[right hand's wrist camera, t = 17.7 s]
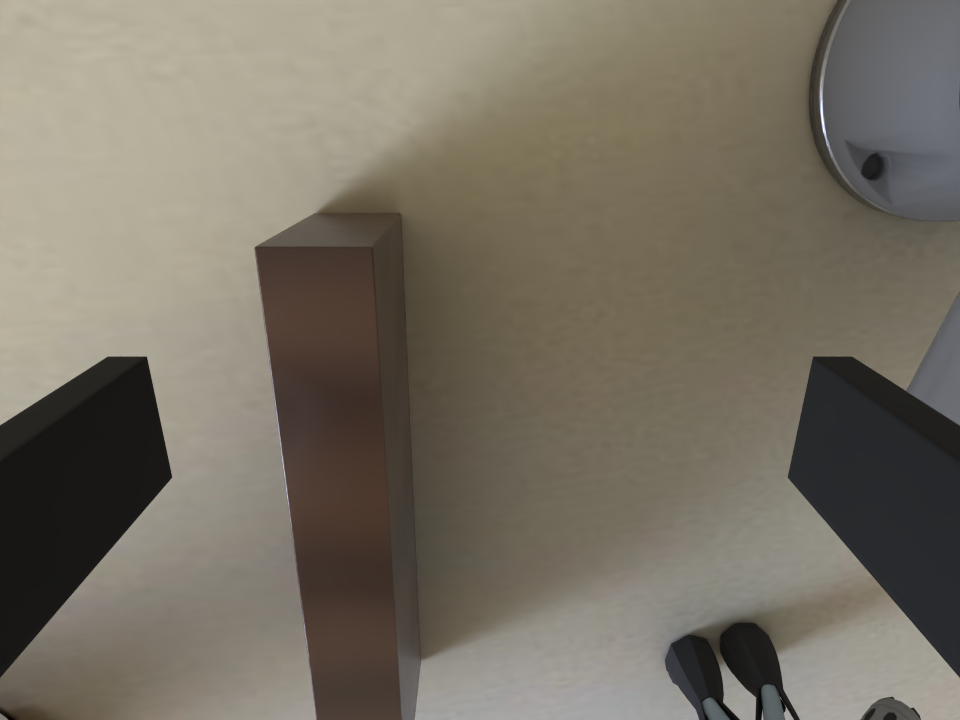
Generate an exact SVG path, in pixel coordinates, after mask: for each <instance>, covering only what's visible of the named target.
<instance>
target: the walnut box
mask: <svg viewBox="0 0 960 720" xmlns="http://www.w3.org/2000/svg"><path fill="white" fill-rule="evenodd" d="M255 256H256V263H257V271H258V278H259V286H260V294H261V301H262V309H263V316H264V324H265V332H266V339H267V347H268V355H269V362H270V370H271V377H272V385H273V393H274V400H275V408H276V416H277V423H278V431H279V438H280V446H281V454H282V461H283V469H284V476H285V484H286V492H287V499H288V507H289V515H290V522H291V530H292V537H293V545H294V553H295V560H296V568H297V575H298V583H299V591H300V598H301V606H302V614H303V621H304V629H305V636H306V644H307V652H308V659H309V667H310V675H311V682H312V690H313V697H314V705H315V713H316V720H415V711H416V702H417V693H418V683H419V674H420V665H421V657H420V634H419V611H418V589H417V566H416V544H415V521H414V498H413V476H412V453H411V431H410V408H409V385H408V363H407V340H406V318H405V295H404V272H403V250H402V227H401V214H368V213H314V214H313V215H311V216H309V217H307V218H305V219H304V220H302V221H300V222H298V223H297V224H295V225H293V226H291V227H289V228H288V229H286V230H284V231H282V232H281V233H279V234H277V235H275V236H274V237H272V238H270V239H268V240H266V241H265V242H263V243H261V244H259V245H258V246H256V247H255Z"/></svg>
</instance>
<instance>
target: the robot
mask: <svg viewBox="0 0 960 720" xmlns="http://www.w3.org/2000/svg"><path fill="white" fill-rule="evenodd" d="M721 654H722V656H723V658H724V661H725V662H726V664H727V666H728V668H729V669H730V671H731V672H732V674H734V675H735V677H736V678H737V679H738V680H739V681H740V683H741V684H742V685H743V686H744V687H745V688H746V689H747V690H748V691H749V692H750V693H752V694H753V695H754V696H755V697H756V720H761V718H762V709H763V717H764V720H785V717H784V712H785V710H786V707H787V709H788V710H789V712H790V714H791V715H792V717H793V718H794V720H800V719H799V717H798V715H797V714H796V712H795V710H794V708H793V706H792V704H791V703H790V701H789V699H788V697H787V695H786V694H785V692H784V690H783V683H782V676H781V670H780V665H779V661H778V657H777V654H776V651H775V648H774V646H773V644H772V642H771V640H770V638H769V636H768V635H767V634H766V633H765V632H764V631H763V630H762V629H760V628H759V627H758V626H757V625H756V624H735V625H734V626H732V627H731V628H730V629H729V630H728V631H726V632H725V633H724V634H723V635H722V636H721ZM665 663H666V669H667V671H668V673H669V676H670V678H671V679H672V682H673V683H674V684H676V685H678V686H679V688H680V690H681V691H682V692H683V694H684V695H685V696H686V698H687V699H688V700H689V701H690V703H691V704H692V705H693V707H694V708H695V709H696V711H697V714H698V717H699V720H740V719H739V718H738V717H737V716H736V715H735V714H734V713H733V712H732V711H731V710H730V709H729V708H728V707H727V706H726V705H725V704H724V703H723V696H724V693H723V682H722V676H721V671H720V668H719V664H718V662H717V659H716V656H715V654H714V652H713V650H712V648H711V647H710V645H709V643H708V641H707V640H706V639H702V638H698V637H693V636H689V635H688V636H686V637H684V638H682V639H680V640H678V641H676V642H674V643H672V644H671V646H670V649H669V651H668V654H667V657H666V659H665ZM780 697H781V699H782V700H783V701H782V700H781V699H780ZM785 705H786V707H785ZM861 720H921V719H920V715H919V714H918V713H917V711H916V710H915V709H914V708H910V707H908V706H907V705H905V704H904V703H903V702H901V701H898V700H895V699H894V698H893V697H888V698H883V699H880V700H878V701H877V702H875V703H874V704H872V705H871V707H870V708H869V709H868V710H867V712H866V713H865V714H864V715H863V717H862V718H861Z"/></svg>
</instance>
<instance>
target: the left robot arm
mask: <svg viewBox="0 0 960 720" xmlns="http://www.w3.org/2000/svg"><path fill="white" fill-rule="evenodd" d="M0 720H8V719H7V718H6V717H5V716H3V715H2V714H1V713H0Z"/></svg>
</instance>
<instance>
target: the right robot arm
mask: <svg viewBox="0 0 960 720" xmlns="http://www.w3.org/2000/svg"><path fill="white" fill-rule="evenodd" d="M809 105H810V119H811V125H812V131H813V135H814V139H815V142H816V145H817V148H818V151H819V153H820V156H821V158H822V160H823V162H824V163H825V165H826V167H827V169H828V170H829V172H830V173H831V175H832V176H833V178H834V179H835V180H836V181H837V182H838V183H839V185H840V186H841V187H842V188H843V189H844V190H846V191H847V192H848V193H849V194H850V195H851V196H853V197H854V198H856V199H857V200H858V201H860V202H861V203H863V204H865V205H867V206H869V207H871V208H873V209H876V210H878V211H881V212H884V213H887V214H891V215H895V216H899V217H903V218H908V219H914V220H920V221H960V0H838V2H837V4H836V5H835V7H834V9H833V11H832V13H831V15H830V17H829V19H828V21H827V23H826V26H825V28H824V31H823V33H822V36H821V38H820V42H819V45H818V48H817V51H816V54H815V59H814V64H813V68H812V74H811V82H810V96H809ZM171 478H172V474H171V469H170V465H169V460H168V455H167V450H166V446H165V441H164V436H163V431H162V427H161V422H160V417H159V412H158V408H157V403H156V398H155V393H154V389H153V384H152V379H151V374H150V369H149V365H148V360H147V357H107V358H105V359H104V360H102V361H100V362H99V363H97V364H96V365H94V366H93V367H91V368H89V369H88V370H86V371H85V372H83V373H82V374H80V375H78V376H77V377H75V378H74V379H72V380H71V381H69V382H68V383H66V384H64V385H63V386H61V387H60V388H58V389H57V390H55V391H53V392H52V393H50V394H49V395H47V396H46V397H44V398H42V399H41V400H39V401H38V402H36V403H35V404H33V405H32V406H30V407H28V408H27V409H25V410H24V411H22V412H21V413H19V414H17V415H16V416H14V417H13V418H11V419H10V420H8V421H6V422H5V423H3V424H2V425H0V677H1V676H2V675H3V674H4V673H5V671H6V670H7V669H8V668H9V667H10V666H11V664H12V663H13V662H14V661H15V660H16V659H17V657H18V656H19V655H20V654H21V653H22V652H23V651H24V649H25V648H26V647H27V646H28V645H29V644H30V642H31V641H32V640H33V639H34V638H35V637H36V635H37V634H38V633H39V632H40V631H41V630H42V628H43V627H44V626H45V625H46V624H47V623H48V621H49V620H50V619H51V618H52V617H53V616H54V614H55V613H56V612H57V611H58V610H59V609H60V607H61V606H62V605H63V604H64V603H65V602H66V600H67V599H68V598H69V597H70V596H71V595H72V593H73V592H74V591H75V590H76V589H77V588H78V586H79V585H80V584H81V583H82V582H83V581H84V579H85V578H86V577H87V576H88V575H89V574H90V573H91V571H92V570H93V569H94V568H95V567H96V566H97V564H98V563H99V562H100V561H101V560H102V559H103V557H104V556H105V555H106V554H107V553H108V552H109V550H110V549H111V548H112V547H113V546H114V545H115V543H116V542H117V541H118V540H119V539H120V538H121V536H122V535H123V534H124V533H125V532H126V531H127V529H128V528H129V527H130V526H131V525H132V524H133V522H134V521H135V520H136V519H137V518H138V517H139V515H140V514H141V513H142V512H143V511H144V510H145V508H146V507H147V506H148V505H149V504H150V503H151V501H152V500H153V499H154V498H155V497H156V496H157V495H158V493H159V492H160V491H161V490H162V489H163V488H164V486H165V485H166V484H167V483H168V482H169V481H170V479H171ZM788 478H789V479H790V481H791V482H792V483H793V484H794V485H795V486H796V488H797V489H798V490H799V491H800V492H801V493H802V495H803V496H804V497H805V498H806V499H807V500H808V501H809V503H810V504H811V505H812V506H813V507H814V508H815V510H816V511H817V512H818V513H819V514H820V515H821V517H822V518H823V519H824V520H825V521H826V522H827V524H828V525H829V526H830V527H831V528H832V529H833V531H834V532H835V533H836V534H837V535H838V536H839V538H840V539H841V540H842V541H843V542H844V543H845V545H846V546H847V547H848V548H849V549H850V550H851V552H852V553H853V554H854V555H855V556H856V557H857V559H858V560H859V561H860V562H861V563H862V564H863V566H864V567H865V568H866V569H867V570H868V571H869V573H870V574H871V575H872V576H873V577H874V578H875V580H876V581H877V582H878V583H879V584H880V585H881V586H882V588H883V589H884V590H885V591H886V592H887V593H888V595H889V596H890V597H891V598H892V599H893V600H894V602H895V603H896V604H897V605H898V606H899V607H900V609H901V610H902V611H903V612H904V613H905V614H906V616H907V617H908V618H909V619H910V620H911V621H912V623H913V624H914V625H915V626H916V627H917V628H918V630H919V631H920V632H921V633H922V634H923V635H924V637H925V638H926V639H927V640H928V641H929V642H930V644H931V645H932V646H933V647H934V648H935V649H936V651H937V652H938V653H939V654H940V655H941V656H942V658H943V659H944V660H945V661H946V662H947V663H948V664H949V666H950V667H951V668H952V669H953V670H954V671H955V673H956V674H957V675H958V676H959V677H960V291H959V293H958V295H957V297H956V299H955V300H954V302H953V304H952V306H951V308H950V310H949V312H948V314H947V315H946V317H945V319H944V321H943V323H942V325H941V327H940V329H939V330H938V332H937V334H936V336H935V338H934V340H933V342H932V344H931V345H930V347H929V349H928V351H927V353H926V355H925V357H924V359H923V361H922V362H921V364H920V366H919V368H918V370H917V372H916V374H915V376H914V377H913V379H912V381H911V383H910V385H909V387H908V389H907V391H905V390H903V389H902V388H900V387H899V386H897V385H896V384H894V383H892V382H891V381H889V380H888V379H886V378H885V377H883V376H882V375H880V374H878V373H877V372H875V371H874V370H872V369H871V368H869V367H867V366H866V365H864V364H863V363H861V362H860V361H858V360H856V359H855V358H853V357H813V360H812V365H811V369H810V374H809V379H808V384H807V389H806V393H805V398H804V403H803V408H802V412H801V417H800V422H799V427H798V431H797V436H796V441H795V446H794V450H793V455H792V460H791V465H790V469H789V474H788Z"/></svg>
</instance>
